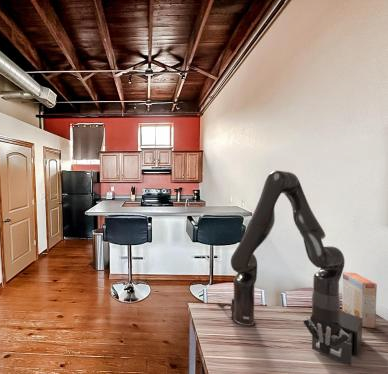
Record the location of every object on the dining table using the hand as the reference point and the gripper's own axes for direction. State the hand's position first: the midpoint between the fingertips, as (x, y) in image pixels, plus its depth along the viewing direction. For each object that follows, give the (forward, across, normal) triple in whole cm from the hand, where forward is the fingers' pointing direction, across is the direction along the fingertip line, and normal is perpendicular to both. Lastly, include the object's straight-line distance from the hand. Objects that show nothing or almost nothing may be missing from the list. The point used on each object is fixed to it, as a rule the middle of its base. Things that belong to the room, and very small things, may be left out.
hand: (324, 353), depth 81 cm
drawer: (+6, 0, -14) cm, 15 cm away
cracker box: (+7, -3, -54) cm, 54 cm away
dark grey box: (+7, 0, -27) cm, 28 cm away
